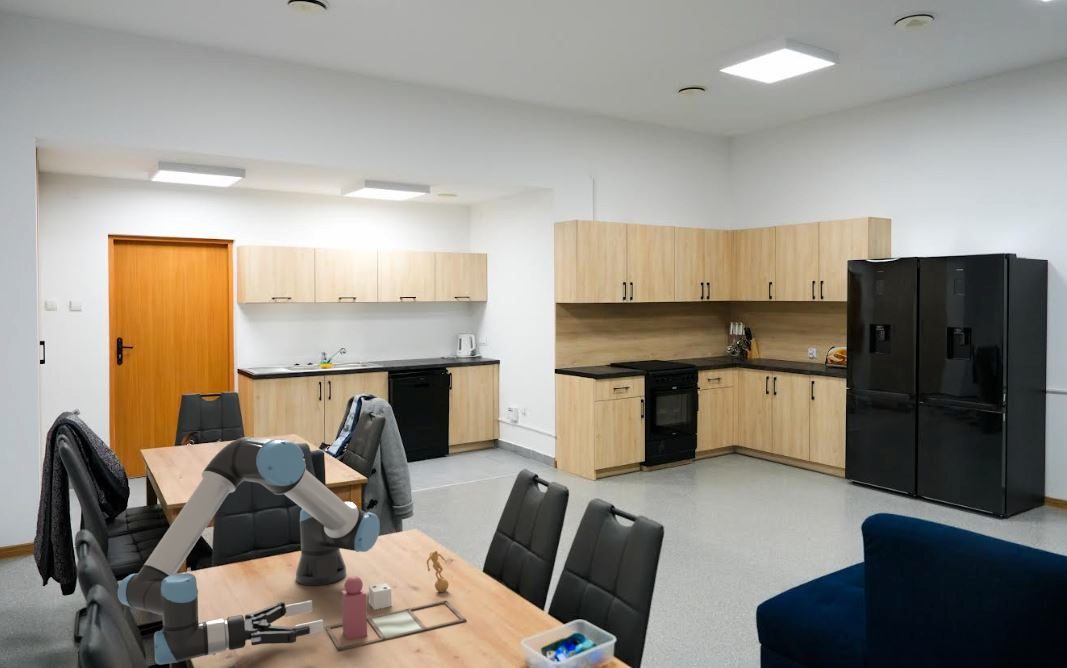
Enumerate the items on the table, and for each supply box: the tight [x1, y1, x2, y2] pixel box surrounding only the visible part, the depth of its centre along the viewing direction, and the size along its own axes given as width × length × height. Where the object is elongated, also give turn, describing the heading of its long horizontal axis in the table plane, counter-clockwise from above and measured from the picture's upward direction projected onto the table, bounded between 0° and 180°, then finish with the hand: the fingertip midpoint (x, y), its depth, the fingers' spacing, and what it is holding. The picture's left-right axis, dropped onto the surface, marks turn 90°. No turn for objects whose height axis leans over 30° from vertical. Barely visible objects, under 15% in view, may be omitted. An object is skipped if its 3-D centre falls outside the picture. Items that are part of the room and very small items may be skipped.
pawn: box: [341, 575, 368, 641], centre depth 192 cm, size 5×5×15 cm
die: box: [368, 582, 392, 610], centre depth 210 cm, size 5×5×5 cm
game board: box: [324, 600, 467, 652], centre depth 197 cm, size 15×34×1 cm, turn 118°
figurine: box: [426, 550, 449, 593], centre depth 219 cm, size 8×6×12 cm
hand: (317, 615), depth 187 cm, fingers open, 13 cm apart
